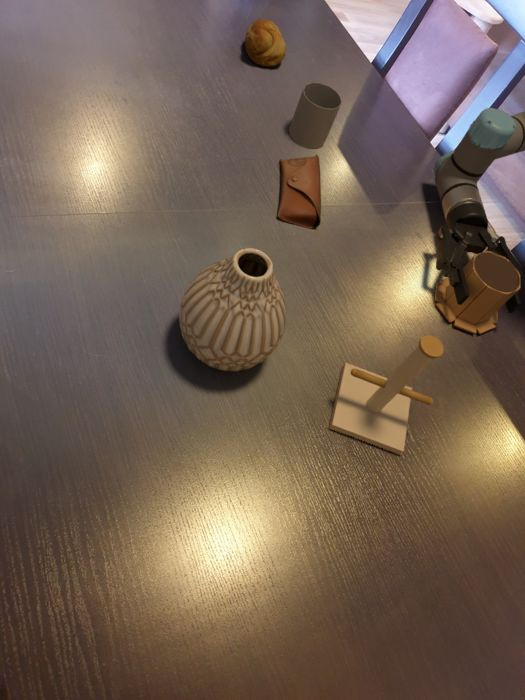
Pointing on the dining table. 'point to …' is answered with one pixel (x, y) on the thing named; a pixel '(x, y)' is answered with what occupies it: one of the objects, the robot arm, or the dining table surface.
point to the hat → (479, 292)
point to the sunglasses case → (300, 192)
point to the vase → (234, 312)
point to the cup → (314, 115)
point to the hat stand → (381, 399)
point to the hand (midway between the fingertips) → (489, 304)
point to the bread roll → (265, 43)
